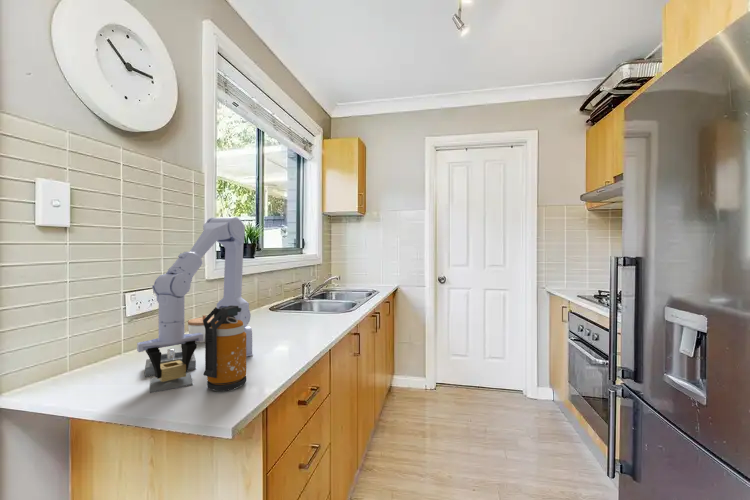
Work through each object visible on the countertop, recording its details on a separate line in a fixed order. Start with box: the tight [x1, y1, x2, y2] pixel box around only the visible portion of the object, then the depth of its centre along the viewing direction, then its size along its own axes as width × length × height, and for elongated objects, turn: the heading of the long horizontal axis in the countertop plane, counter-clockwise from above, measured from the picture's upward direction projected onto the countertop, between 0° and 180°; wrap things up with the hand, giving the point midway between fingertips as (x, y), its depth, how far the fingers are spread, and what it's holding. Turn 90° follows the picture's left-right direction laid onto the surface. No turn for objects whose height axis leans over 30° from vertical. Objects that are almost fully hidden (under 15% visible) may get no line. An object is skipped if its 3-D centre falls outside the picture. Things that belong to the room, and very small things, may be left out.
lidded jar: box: [187, 314, 214, 344], centre depth 129 cm, size 11×11×9 cm
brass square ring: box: [158, 360, 187, 382], centre depth 88 cm, size 5×5×3 cm
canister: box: [203, 306, 247, 392], centre depth 85 cm, size 9×11×20 cm
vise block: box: [144, 348, 197, 378], centre depth 98 cm, size 12×8×6 cm, turn 121°
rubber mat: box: [149, 372, 194, 394], centre depth 88 cm, size 9×9×1 cm
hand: (171, 374), depth 88 cm, fingers closed on brass square ring, 5 cm apart
